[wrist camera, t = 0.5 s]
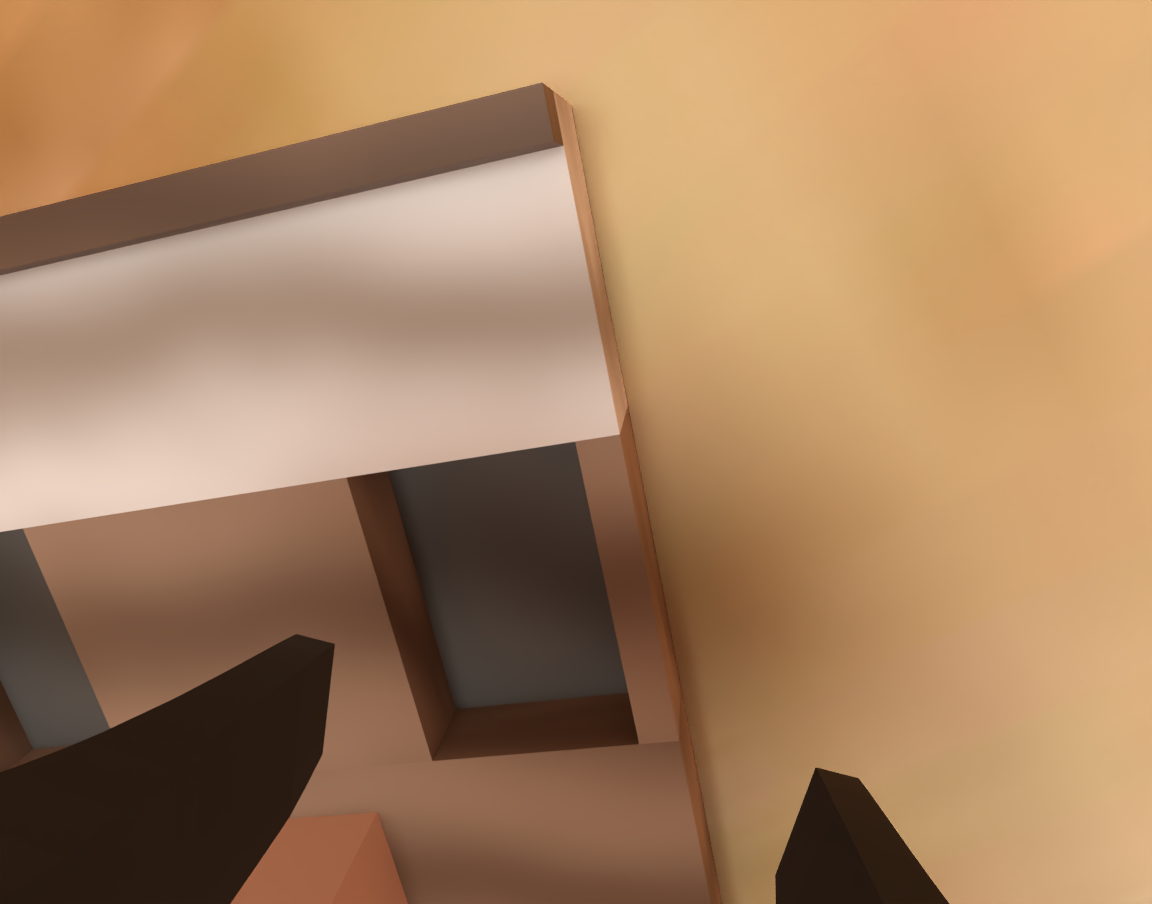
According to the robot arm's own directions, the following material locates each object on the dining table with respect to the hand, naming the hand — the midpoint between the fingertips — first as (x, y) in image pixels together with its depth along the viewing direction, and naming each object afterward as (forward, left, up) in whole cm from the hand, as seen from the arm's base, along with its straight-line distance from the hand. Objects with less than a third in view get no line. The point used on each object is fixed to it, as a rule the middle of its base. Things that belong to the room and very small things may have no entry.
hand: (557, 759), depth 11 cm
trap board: (-3, +10, -10) cm, 14 cm away
